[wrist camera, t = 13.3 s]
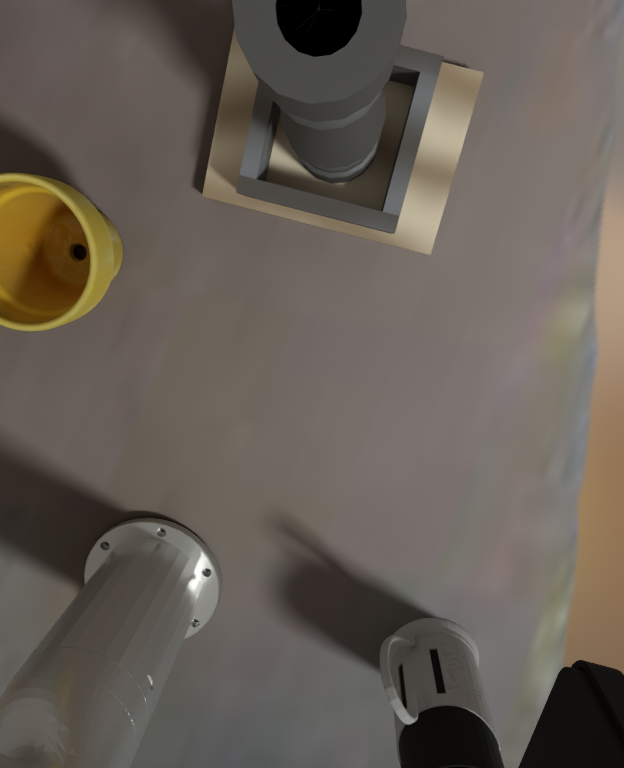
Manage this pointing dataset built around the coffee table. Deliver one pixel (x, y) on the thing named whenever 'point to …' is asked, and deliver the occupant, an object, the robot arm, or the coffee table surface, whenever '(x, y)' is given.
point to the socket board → (379, 181)
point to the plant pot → (51, 253)
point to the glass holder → (438, 697)
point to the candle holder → (324, 74)
